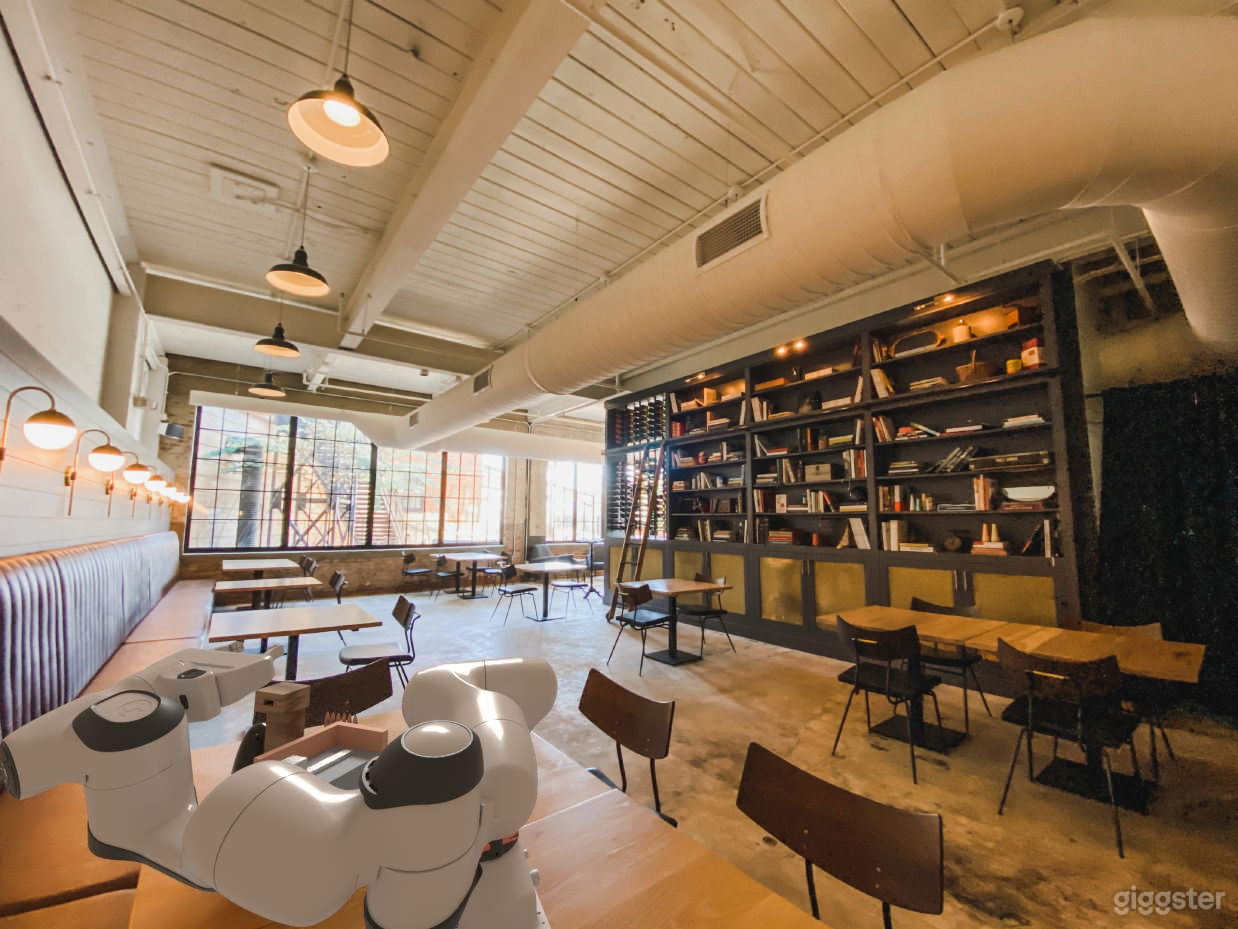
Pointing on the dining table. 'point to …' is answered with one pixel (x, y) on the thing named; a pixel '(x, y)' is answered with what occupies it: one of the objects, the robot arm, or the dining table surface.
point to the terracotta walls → (331, 741)
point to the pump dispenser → (250, 747)
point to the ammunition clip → (332, 720)
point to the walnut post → (283, 712)
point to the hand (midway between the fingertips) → (260, 647)
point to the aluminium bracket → (322, 764)
